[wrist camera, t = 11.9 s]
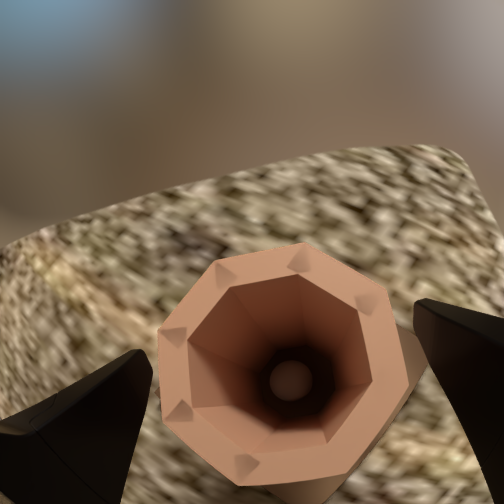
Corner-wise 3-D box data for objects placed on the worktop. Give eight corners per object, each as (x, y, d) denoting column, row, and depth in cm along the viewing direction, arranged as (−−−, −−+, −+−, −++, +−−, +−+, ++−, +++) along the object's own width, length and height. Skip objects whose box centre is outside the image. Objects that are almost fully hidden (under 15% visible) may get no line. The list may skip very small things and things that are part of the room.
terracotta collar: (306, 448, 13) (297, 523, 4) (227, 391, 15) (120, 376, 6) (367, 366, 14) (440, 322, 6) (286, 315, 17) (253, 214, 8)
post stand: (309, 509, 12) (307, 541, 8) (163, 393, 17) (122, 388, 13) (428, 352, 15) (461, 336, 11) (277, 256, 20) (266, 218, 16)
